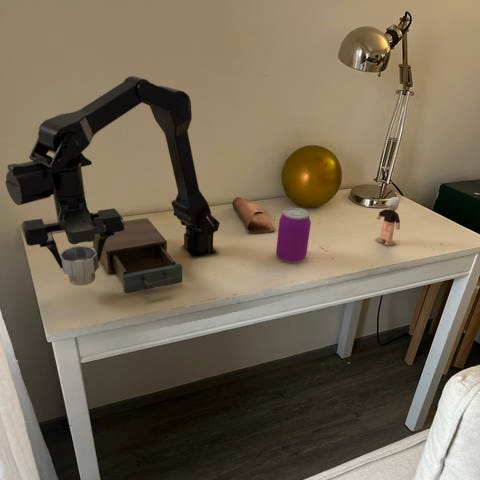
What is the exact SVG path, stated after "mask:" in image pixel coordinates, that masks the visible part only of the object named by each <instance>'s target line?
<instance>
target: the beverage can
mask: <svg viewBox="0 0 480 480" xmlns="http://www.w3.org/2000/svg"><path fill="white" fill-rule="evenodd" d="M311 224H312V222H311V218H310V212H308V211H307V209H304V208H300V207H288V208H285V209H284V210H283V211H282V213H281V216H280V217H279V219H278V230H277V240H276V247H275V248H276V250H275V252H276V256H277V258H279V259H280V261H282V262H284V263H290V264H296V263H301V262H303V260H305V259H306V257H307V254H308V248H309V247H308V246H309V239H310V233H311Z"/></svg>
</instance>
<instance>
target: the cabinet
mask: <svg viewBox="0 0 480 480" xmlns="http://www.w3.org/2000/svg"><path fill="white" fill-rule="evenodd" d="M124 227H125V229H124V230H123V231H119V232H114V235H113V236H110V237H108V238H107V240H106V242H105V244H104V247H103V251H102V254H101V258H100V262H101V263H102V265H103V267H104V268H105V270H106V272H107V274H108V275H112V274H116V272H115V271H114V269H113V267H112V266H111V260H110V253H116V252H121V251H127V250H133V249H139V248H144V247H150V246H156V245H162V246H163V247H164V249H165V250H166V251H167V252H168V241H167V240H166V238H165V237H164V236H163V234H161V232H160V231H159V230H158V228H157V227H155V225H154V224H153V223H152V221H150V220H149V218H148V217H143V218H136V219H129V220H124ZM92 248H94V249H95V244H94V241H92Z"/></svg>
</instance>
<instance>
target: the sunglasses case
mask: <svg viewBox="0 0 480 480" xmlns="http://www.w3.org/2000/svg"><path fill="white" fill-rule="evenodd" d="M231 205H232V207H233V209H234V211H235V212H236V213H237V215H238V217H239V219H240V220H241V222H242V224H243V225H244V227H245V229H246V230H247V231H248V232H249V233H250V234H263V233H271V232H274V231H275V228H274V226H273V224H272V222H271V221H270V219H269V218H268V216H267V215H266V213H265V212H264V209H262V207H261V206H260V205H259V204H257V203H253V202H252V201H250V200H247V199H245V198H243V197H239V196H237V197H235V198H234V199H232V203H231Z"/></svg>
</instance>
